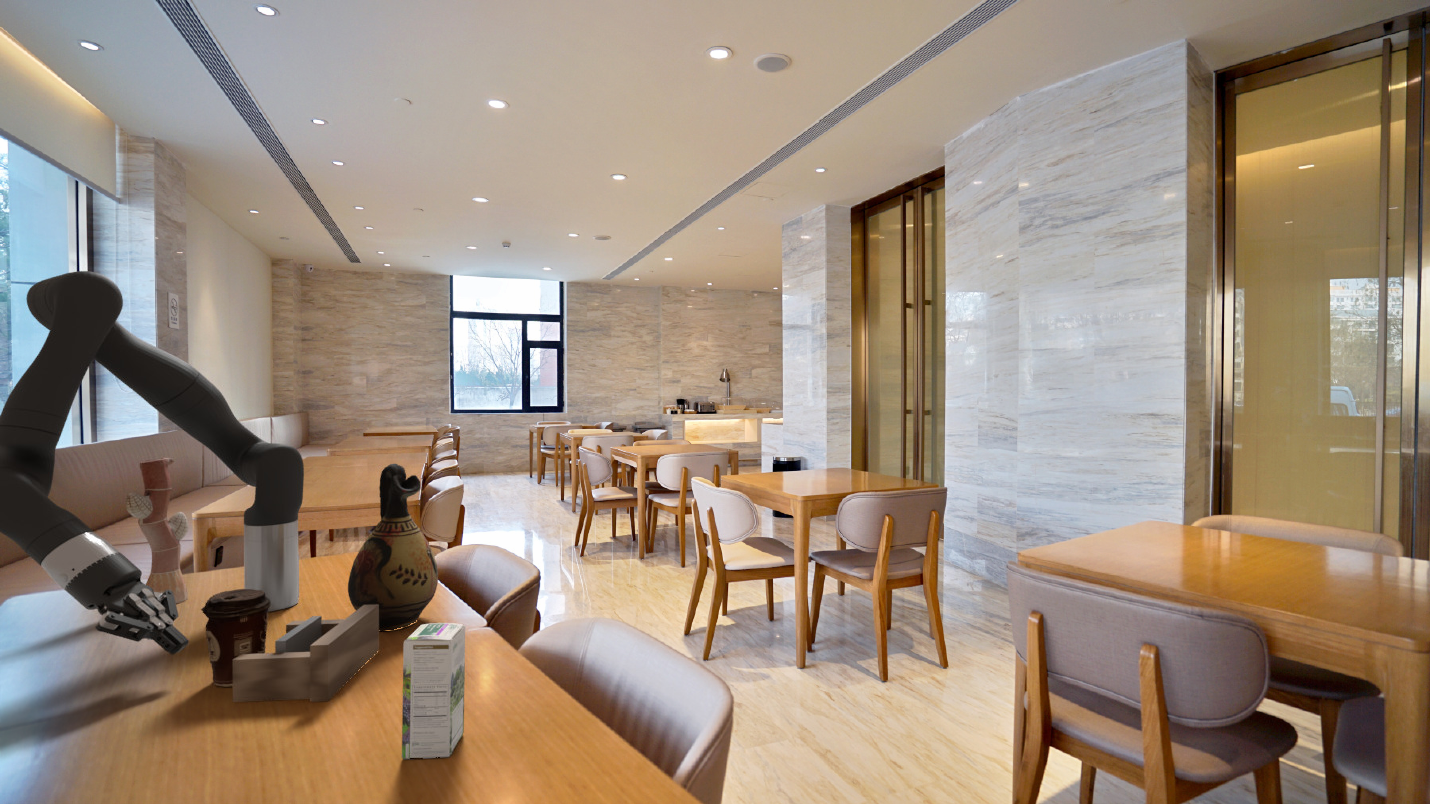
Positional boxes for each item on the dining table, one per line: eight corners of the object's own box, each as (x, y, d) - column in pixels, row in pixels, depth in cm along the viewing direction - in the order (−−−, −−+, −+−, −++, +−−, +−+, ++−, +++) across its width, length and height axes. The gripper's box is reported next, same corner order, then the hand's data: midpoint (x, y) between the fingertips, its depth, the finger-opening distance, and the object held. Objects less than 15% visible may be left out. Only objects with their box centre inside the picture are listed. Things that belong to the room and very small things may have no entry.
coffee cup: (195, 695, 95) (194, 606, 95) (207, 674, 102) (207, 590, 102) (267, 683, 99) (267, 597, 99) (274, 663, 106) (274, 583, 106)
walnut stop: (228, 705, 92) (228, 648, 92) (296, 654, 110) (295, 606, 110) (328, 701, 94) (327, 644, 93) (378, 651, 111) (378, 604, 111)
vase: (185, 593, 143) (184, 455, 142) (196, 600, 138) (195, 457, 138) (121, 606, 134) (119, 459, 134) (130, 613, 130) (128, 461, 130)
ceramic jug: (452, 622, 126) (452, 465, 125) (366, 644, 115) (365, 472, 114) (415, 602, 138) (414, 459, 137) (333, 621, 126) (332, 464, 126)
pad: (275, 688, 96) (275, 641, 96) (312, 659, 107) (312, 616, 107) (285, 688, 96) (285, 640, 96) (321, 658, 107) (321, 615, 107)
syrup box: (418, 735, 84) (418, 622, 84) (466, 734, 85) (465, 621, 85) (401, 760, 79) (400, 639, 78) (452, 758, 79) (451, 638, 79)
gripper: (73, 563, 92) (169, 647, 93) (145, 542, 105) (227, 616, 107) (31, 602, 91) (128, 686, 93) (108, 576, 105) (192, 650, 106)
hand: (181, 648), depth 100 cm, fingers closed
